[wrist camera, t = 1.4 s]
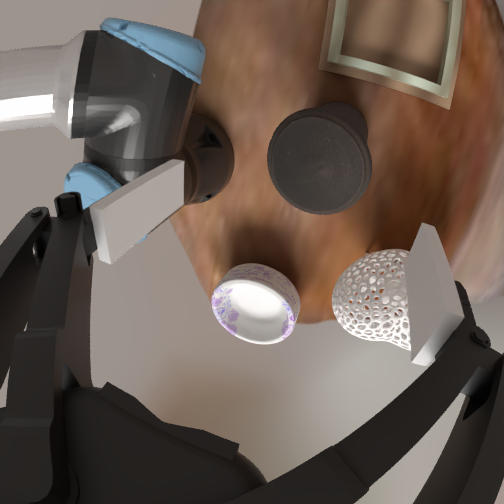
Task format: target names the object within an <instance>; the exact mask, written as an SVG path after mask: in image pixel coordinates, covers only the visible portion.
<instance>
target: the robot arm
mask: <svg viewBox="0 0 504 504" xmlns="http://www.w3.org/2000/svg"><path fill="white" fill-rule="evenodd" d="M100 29H101V30H93V31H92V30H91V31H88V30H84V31H82V32H80V33H79V34H78V35H77V36H75V37H74V38H73V39H72V40H71V41H69V42H68V43H66V44H64V45H54V46H53V45H52V46H40V47H31V48H21V49H14V50H8V51H2V52H0V131H6V130H13V129H21V128H30V127H40V126H51V125H53V126H55V127H57V128H58V129H59V130H60V131H61V132H62V133H63V134H64V135H65V136H66V137H67V138H68V139H72V138H85V143H84V159H83V162H82V163H77V164H76V165H74V166H73V168H72V169H71V170H70V171H69V173H67V175H66V177H65V181H64V193H63V194H61V195H59V196H57V197H56V198H55V199H54V202H55V208H56V212H57V217H50V214H49V209H48V208H47V207H36V208H33V210H31V211H29V212H28V213H27V214H26V215H25V216H24V218H22V220H21V221H20V222H19V223H18V224H17V225H16V227H15V228H14V229H13V231H11V233H10V234H9V235H8V236H7V238H6V239H5V240H4V241H3V243H2V244H1V245H0V389H1V387H2V385H3V383H4V380H5V377H6V375H7V372H8V370H9V367H10V370H9V379H8V388H7V400H6V407H3V408H0V504H354V503H355V502H356V501H358V500H359V499H360V498H361V497H362V496H364V495H365V494H366V493H367V492H368V491H369V487H370V486H371V485H372V484H373V483H374V482H376V481H377V480H378V479H379V478H380V477H382V476H383V475H384V474H385V473H386V472H387V471H388V470H390V469H391V467H393V466H394V465H395V464H396V463H397V462H398V461H399V460H400V459H401V458H402V457H403V456H404V455H405V454H406V453H407V452H408V451H409V450H410V449H411V448H412V447H413V446H414V445H415V444H416V443H417V442H418V441H419V440H420V439H421V438H422V437H423V436H424V435H425V434H426V433H427V432H428V431H429V429H430V428H431V427H432V426H433V425H434V424H435V423H436V421H437V420H438V419H439V418H440V417H441V416H442V414H443V413H444V412H445V411H446V410H447V408H448V407H449V406H450V405H451V403H452V402H453V401H454V400H455V398H456V397H457V396H458V394H459V393H460V392H461V393H463V394H465V395H466V397H465V400H464V403H463V405H462V408H461V410H460V413H459V416H458V418H457V420H456V423H455V425H454V428H453V430H452V432H451V435H450V437H449V439H448V441H447V443H446V445H445V447H444V449H443V451H442V454H441V455H440V457H439V459H438V461H437V463H436V465H435V467H434V469H433V471H432V472H431V474H430V476H429V478H428V480H427V481H426V483H425V485H424V486H423V488H422V490H421V492H420V493H419V495H418V496H417V498H416V500H415V501H414V503H413V504H494V502H495V500H496V497H497V495H498V492H499V490H500V487H501V484H502V481H503V478H504V353H503V354H500V353H499V352H497V351H495V350H494V349H492V348H490V346H491V343H490V339H489V337H488V336H487V334H486V333H485V332H484V330H482V329H481V328H480V327H478V326H476V322H475V319H474V316H473V312H472V308H471V307H470V306H471V305H470V302H469V300H468V295H467V292H466V290H465V289H464V287H463V286H462V284H461V283H460V282H458V281H455V280H454V279H453V276H452V273H451V270H450V267H449V264H448V261H447V258H446V255H445V252H444V249H443V247H442V244H441V241H440V239H439V236H438V234H437V231H436V229H435V227H434V226H431V225H428V224H425V223H422V224H421V226H420V229H419V231H418V234H417V236H416V239H415V241H414V243H413V246H412V248H411V250H410V253H409V255H408V257H407V259H406V262H405V264H404V273H405V281H406V290H407V300H408V311H409V325H410V343H411V362H412V363H415V364H419V365H424V366H428V365H429V364H430V362H431V361H432V360H433V359H434V357H435V362H434V363H433V364H432V365H431V366H430V367H429V368H428V369H427V370H426V371H425V372H424V373H423V374H422V375H420V376H419V377H418V378H417V379H416V380H415V381H414V382H413V383H412V384H411V385H410V386H409V387H408V388H407V389H405V390H404V391H403V392H402V393H401V394H400V395H399V396H398V397H397V398H395V399H394V400H393V401H392V402H391V403H389V404H388V405H387V406H386V407H385V408H384V409H383V410H381V411H380V412H379V413H377V414H376V415H375V416H374V417H372V418H371V419H370V420H369V421H367V422H366V423H365V424H363V425H362V426H361V427H359V428H358V429H357V430H355V431H354V432H353V433H352V434H350V435H349V436H347V437H346V438H344V439H343V440H342V441H340V442H339V443H337V444H335V445H334V446H330V447H329V448H327V449H325V450H324V451H322V452H320V453H319V454H317V455H316V456H314V457H312V458H311V459H309V460H308V461H306V462H304V463H303V464H301V465H299V466H297V467H296V468H294V469H293V470H291V471H289V472H287V473H285V474H283V475H282V476H280V477H278V478H276V479H274V480H272V481H270V482H268V483H267V481H266V479H265V478H264V476H263V474H262V473H261V472H260V470H259V469H258V468H257V467H256V466H255V465H254V464H253V463H252V462H251V461H250V460H249V459H247V458H246V457H245V456H244V455H242V454H241V453H239V452H238V448H239V444H238V443H235V442H232V441H230V440H227V439H224V438H221V437H219V436H217V435H214V434H211V433H209V432H207V431H204V430H200V429H194V428H189V427H184V426H179V425H174V424H169V423H165V422H163V421H161V420H160V419H159V418H157V417H156V416H155V415H154V414H152V412H150V411H149V410H148V409H147V408H146V407H145V406H144V405H143V404H142V403H141V402H139V401H138V400H137V399H136V398H135V397H133V396H131V395H130V394H128V393H126V392H124V391H123V390H121V389H119V388H117V387H116V386H114V385H112V384H111V383H109V382H107V383H106V384H105V385H104V387H103V388H97V387H93V384H92V380H91V366H90V305H91V304H90V303H91V286H92V271H93V256H92V253H93V252H94V251H95V250H98V254H99V259H100V260H101V261H104V262H106V263H108V264H112V263H114V262H115V261H116V260H117V259H118V258H119V257H121V256H122V255H123V254H124V253H125V252H126V251H127V250H129V249H130V248H131V247H132V246H134V245H135V244H137V243H138V242H140V241H143V240H144V239H145V238H146V237H147V235H148V234H149V233H150V232H152V231H153V230H154V229H156V228H157V227H158V226H159V225H160V224H162V223H163V222H164V221H166V220H167V219H168V218H169V217H171V216H172V215H173V214H174V213H176V212H177V211H178V210H180V209H181V208H182V207H183V206H185V205H191V204H197V203H202V202H205V201H208V200H210V199H212V198H213V197H215V196H216V195H217V194H218V193H220V192H221V191H222V190H223V189H224V188H225V187H226V185H227V184H228V182H229V181H230V179H231V176H232V173H233V168H234V154H233V149H232V146H231V143H230V141H229V138H228V137H227V135H226V133H225V132H224V131H223V129H222V128H221V127H220V126H219V125H218V124H217V123H216V122H214V121H213V120H212V119H210V118H208V117H206V116H204V115H201V114H196V113H191V112H192V108H193V105H194V101H195V98H196V94H197V91H198V87H199V84H201V82H202V80H201V75H202V70H203V66H204V62H205V58H206V49H205V46H204V44H203V43H202V42H201V41H200V40H198V39H196V38H194V37H191V36H188V35H185V34H182V33H179V32H176V31H172V30H169V29H165V28H161V27H157V26H153V25H149V24H144V23H139V22H132V21H128V20H122V19H117V18H106V19H105V20H104V21H103V23H102V24H101V25H100ZM33 247H34V250H35V254H34V255H33ZM27 322H28V323H27ZM26 324H27V329H26V331H24V329H25V326H26Z"/></svg>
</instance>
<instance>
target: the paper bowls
mask: <svg viewBox="0 0 504 504" xmlns="http://www.w3.org/2000/svg"><path fill="white" fill-rule="evenodd" d="M212 309H213V311H214V314H215V316H216V318H217V319H218V321H219V322H220V323H221V324H222V325H223V327H224V328H225V329H227V330H228V331H229V332H230V333H232V334H233V335H235V336H236V337H239V338H240V339H243V340H245V341H248V342H251V343H256V344H272V343H277V342H280V341H282V340H284V339H285V338H287V337H288V336H289V335H290V334H291V333H292V331H293V329H294V327H295V324H296V321H297V317H298V314H299V310H300V298H299V295H298V292H297V290H296V288H295V286H294V285H293V284H292V283H291V281H290V280H289V279H288V278H287V277H286V276H284V275H283V274H282V273H280V272H278V271H276V270H275V269H273V268H270V267H268V266H265V265H261V264H256V263H248V264H242V265H238V266H236V267H234V268H232V269H230V270H229V271H228V272H227V273H226V274H225V275H224V277H223V278H222V279H221V281H220V282H219V284H218V285H217V287H216V288H215V290H214V292H213V295H212Z"/></svg>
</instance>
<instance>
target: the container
mask: <svg viewBox="0 0 504 504" xmlns="http://www.w3.org/2000/svg"><path fill="white" fill-rule="evenodd" d="M367 138H368V130H367V125H366V122H365V119H364V117H363V116H362V114H361V113H360V112H359V111H358V110H357V109H356V108H355V107H353V106H352V105H350V104H347V103H343V102H331V103H327V104H325V105H323V106H321V107H319V108H309V109H303V110H300V111H297V112H295V113H293V114H291V115H290V116H288V117H287V118H286V119H284V120H283V121H282V122H281V123H280V124H279V126H278V127H277V128H276V130H275V132H274V134H273V136H272V139H271V141H270V143H269V147H268V154H267V162H268V170H269V174H270V177H271V180H272V182H273V184H274V186H275V188H276V189H277V191H278V192H279V193H280V195H281V196H282V197H283V198H284V199H285V200H286V201H287V202H289V203H290V204H291V205H293V206H294V207H296V208H298V209H300V210H302V211H305V212H308V213H312V214H318V215H329V214H334V213H338V212H341V211H344V210H346V209H348V208H349V207H351V206H352V205H354V204H355V203H356V202H357V201H358V200H359V199H360V198H361V197H362V196H363V194H364V193H365V191H366V189H367V187H368V185H369V182H370V179H371V174H372V160H371V155H370V151H369V148H368V146H367Z"/></svg>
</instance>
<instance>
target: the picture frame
mask: <svg viewBox="0 0 504 504" xmlns="http://www.w3.org/2000/svg"><path fill="white" fill-rule="evenodd" d="M465 10H466V0H329V2H328V9H327V16H326V23H325V29H324V36H323V42H322V48H321V55H320V61H319V67H318V70H322V71H327V72H332V73H336V74H341V75H345V76H349V77H353V78H357V79H361V80H364V81H368V82H372V83H375V84H378V85H382V86H385V87H388V88H391V89H395V90H398V91H401V92H404V93H407V94H409V95H412V96H415V97H418V98H421V99H423V100H426V101H428V102H431V103H434V104H436V105H439V106H441V107H443V108H446V109H449V110H450V105H451V101H452V96H453V92H454V87H455V82H456V77H457V71H458V66H459V60H460V53H461V47H462V39H463V31H464V21H465Z"/></svg>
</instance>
